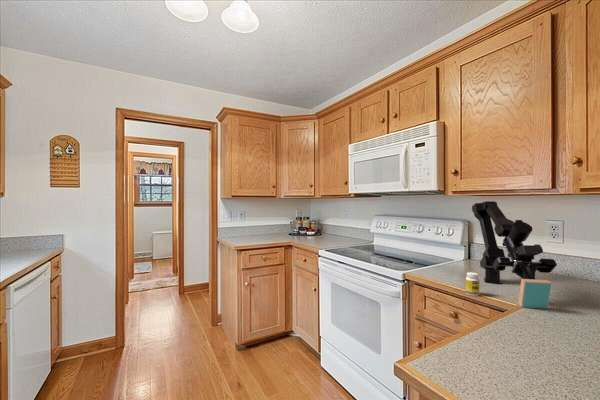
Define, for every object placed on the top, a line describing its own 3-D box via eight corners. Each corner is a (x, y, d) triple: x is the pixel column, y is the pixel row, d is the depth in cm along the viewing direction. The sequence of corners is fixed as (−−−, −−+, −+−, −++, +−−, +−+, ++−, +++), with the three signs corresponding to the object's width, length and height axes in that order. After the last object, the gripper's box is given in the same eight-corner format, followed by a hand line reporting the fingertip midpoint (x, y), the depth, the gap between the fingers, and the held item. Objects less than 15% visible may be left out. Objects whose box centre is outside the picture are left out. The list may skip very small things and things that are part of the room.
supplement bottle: (472, 296, 109) (472, 275, 109) (462, 292, 114) (462, 272, 114) (482, 295, 111) (482, 274, 111) (472, 291, 115) (472, 271, 115)
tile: (518, 303, 100) (521, 278, 98) (543, 305, 99) (547, 280, 97) (521, 307, 98) (525, 282, 96) (548, 309, 96) (552, 283, 94)
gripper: (496, 235, 105) (511, 272, 95) (553, 237, 101) (576, 274, 91) (487, 252, 113) (500, 287, 102) (539, 254, 109) (559, 291, 98)
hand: (533, 285), depth 98 cm, fingers closed
